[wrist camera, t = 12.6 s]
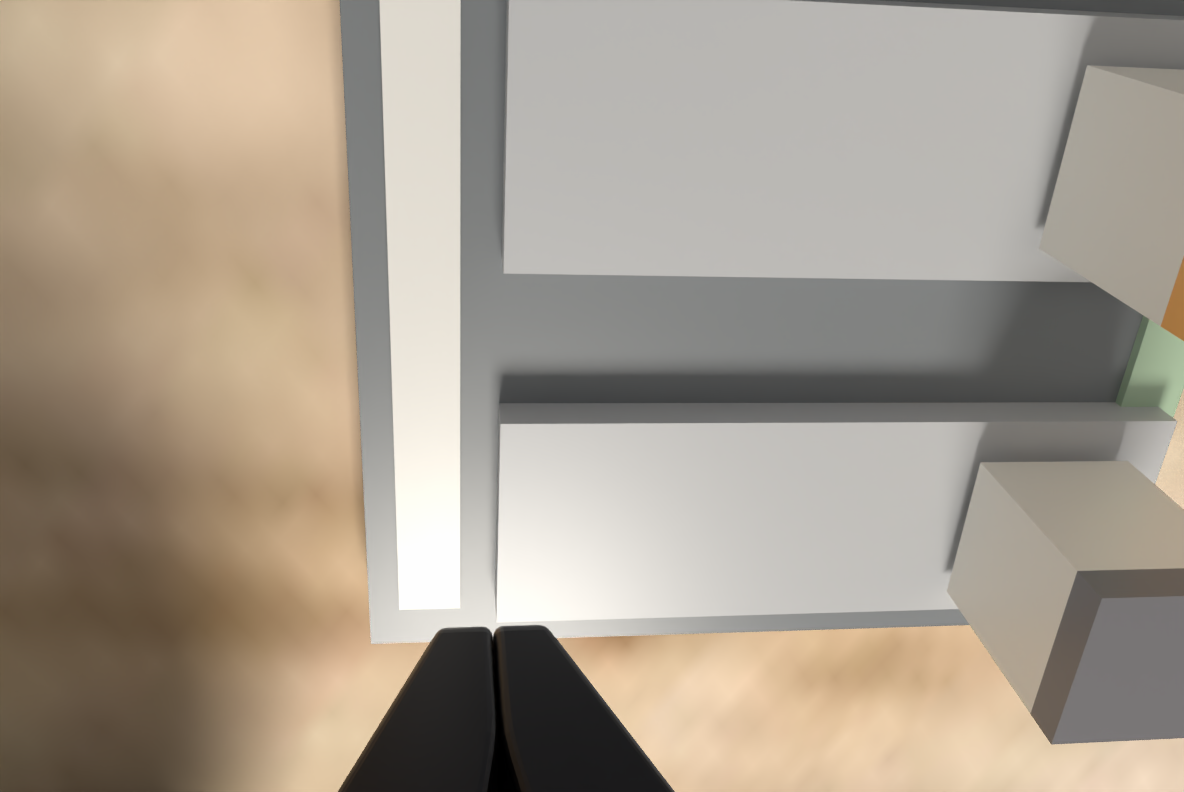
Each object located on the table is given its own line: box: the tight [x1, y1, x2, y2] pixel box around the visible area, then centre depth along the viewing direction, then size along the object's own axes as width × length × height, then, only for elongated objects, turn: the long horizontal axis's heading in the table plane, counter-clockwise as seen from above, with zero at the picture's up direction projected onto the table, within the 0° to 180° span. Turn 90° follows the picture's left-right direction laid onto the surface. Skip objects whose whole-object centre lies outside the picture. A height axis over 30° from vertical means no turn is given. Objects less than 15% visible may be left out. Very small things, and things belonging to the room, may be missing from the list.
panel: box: [340, 0, 1184, 644], centre depth 18 cm, size 21×16×2 cm
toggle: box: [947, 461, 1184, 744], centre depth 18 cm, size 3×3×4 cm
